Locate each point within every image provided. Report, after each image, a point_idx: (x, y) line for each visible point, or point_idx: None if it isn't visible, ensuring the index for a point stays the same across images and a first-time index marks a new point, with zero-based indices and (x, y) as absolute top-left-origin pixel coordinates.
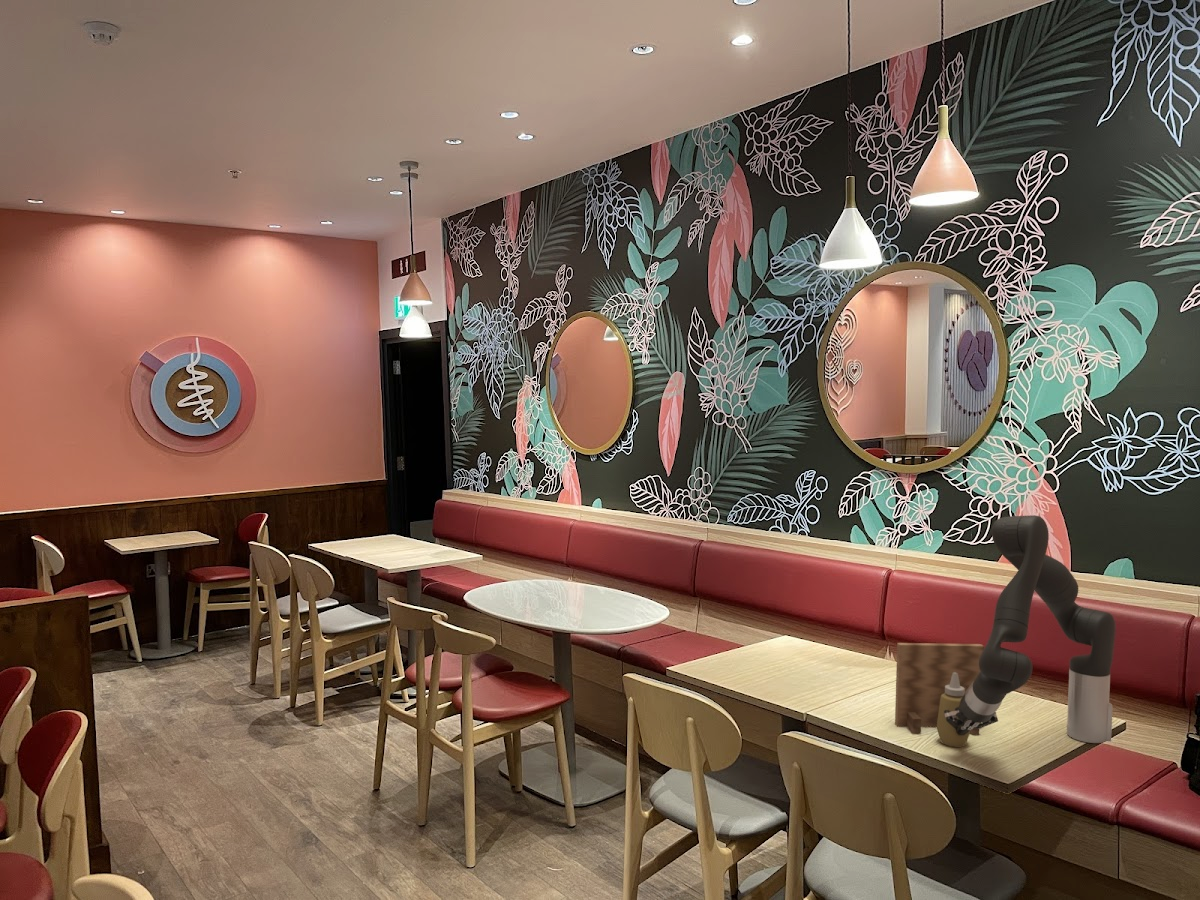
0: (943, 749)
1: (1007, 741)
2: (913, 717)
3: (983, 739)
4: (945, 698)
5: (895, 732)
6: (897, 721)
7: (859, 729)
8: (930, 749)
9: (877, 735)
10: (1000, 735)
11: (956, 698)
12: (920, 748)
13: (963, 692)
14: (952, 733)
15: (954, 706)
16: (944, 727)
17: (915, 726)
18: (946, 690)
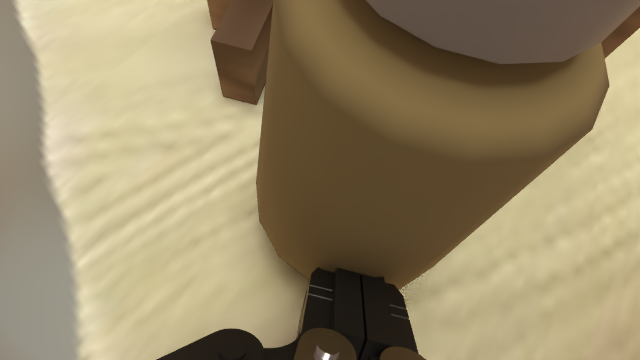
0: (241, 284)
1: (613, 257)
2: (226, 27)
3: (509, 212)
4: (291, 18)
5: (161, 66)
6: (209, 8)
7: (34, 11)
8: (169, 269)
9: (52, 72)
10: (599, 190)
11: (429, 80)
12: (126, 245)
13: (634, 1)
14: (296, 268)
15: (347, 171)
16: (264, 213)
17: (227, 73)
18: None
